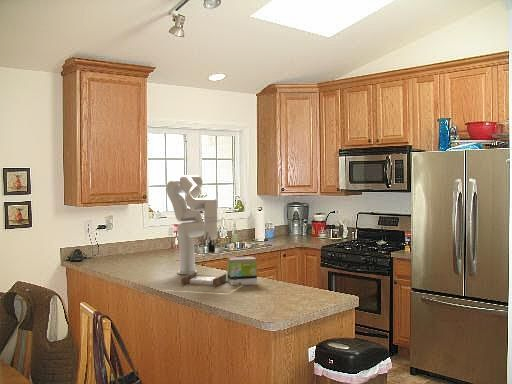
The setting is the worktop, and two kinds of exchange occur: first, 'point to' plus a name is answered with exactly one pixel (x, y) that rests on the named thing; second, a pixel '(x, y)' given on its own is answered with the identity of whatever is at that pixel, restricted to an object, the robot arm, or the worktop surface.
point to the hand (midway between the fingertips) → (211, 251)
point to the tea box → (242, 270)
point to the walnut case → (216, 281)
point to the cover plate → (202, 280)
